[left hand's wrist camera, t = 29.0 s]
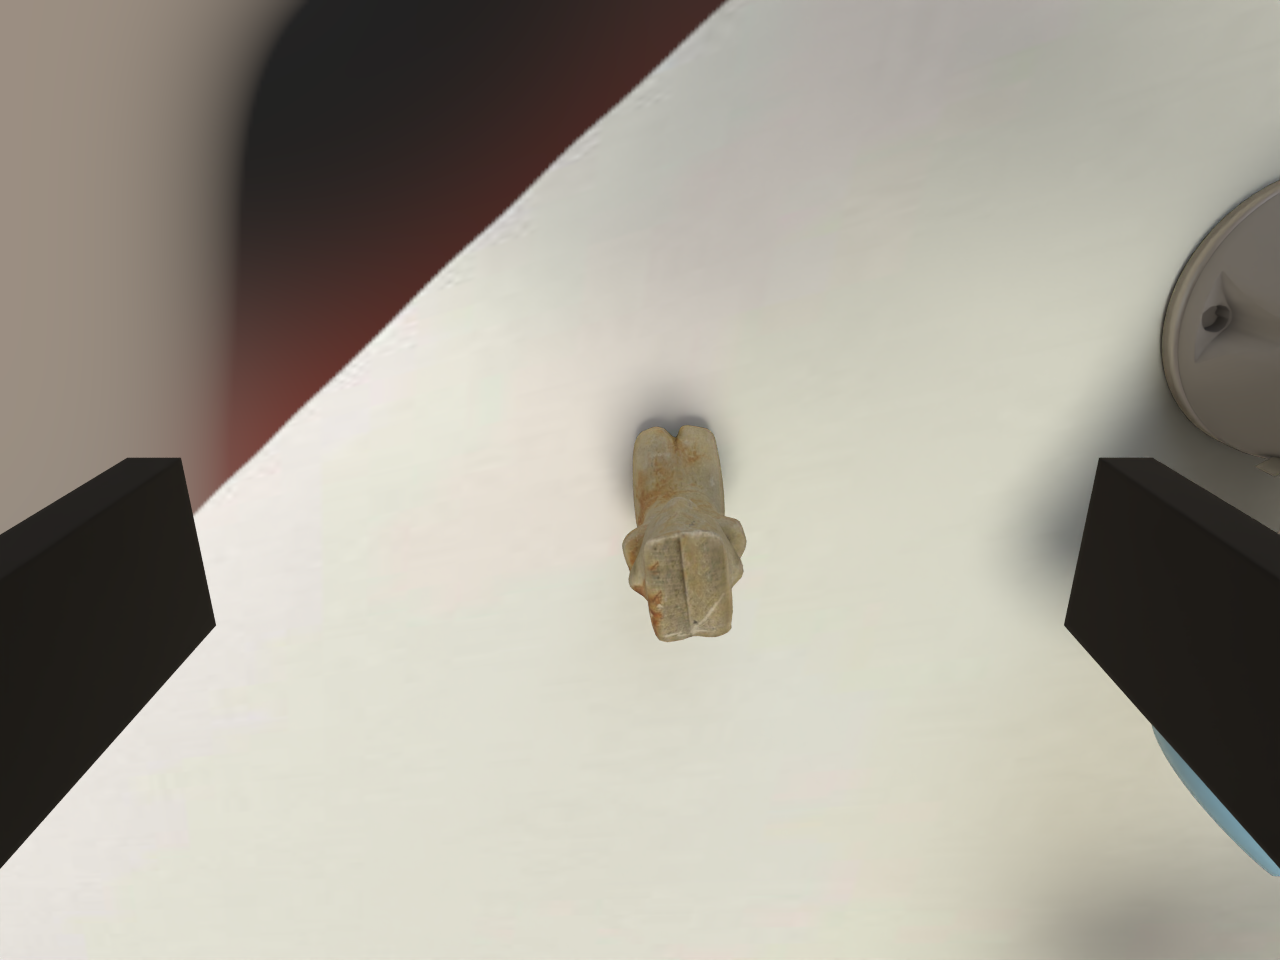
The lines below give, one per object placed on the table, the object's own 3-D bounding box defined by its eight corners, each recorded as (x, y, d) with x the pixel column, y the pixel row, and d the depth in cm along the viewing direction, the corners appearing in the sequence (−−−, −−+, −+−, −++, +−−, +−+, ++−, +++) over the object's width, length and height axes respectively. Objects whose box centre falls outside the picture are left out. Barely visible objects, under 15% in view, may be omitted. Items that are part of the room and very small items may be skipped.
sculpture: (728, 416, 47) (765, 530, 33) (727, 534, 50) (761, 685, 36) (623, 419, 47) (615, 534, 33) (628, 537, 50) (623, 689, 36)
